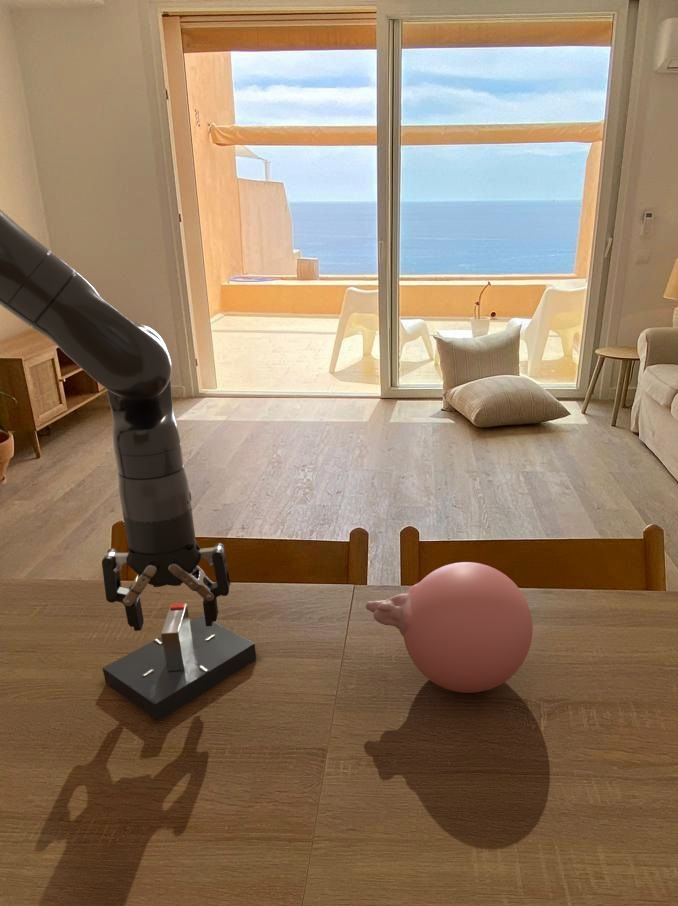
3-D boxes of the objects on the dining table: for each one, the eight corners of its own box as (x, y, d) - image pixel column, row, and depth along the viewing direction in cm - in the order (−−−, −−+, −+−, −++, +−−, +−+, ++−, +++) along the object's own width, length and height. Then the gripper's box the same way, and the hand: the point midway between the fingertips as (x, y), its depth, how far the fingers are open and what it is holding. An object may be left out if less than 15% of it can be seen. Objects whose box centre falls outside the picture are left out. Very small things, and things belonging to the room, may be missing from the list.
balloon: (382, 632, 96) (381, 532, 89) (530, 650, 91) (539, 546, 85) (352, 704, 82) (347, 592, 76) (524, 730, 78) (534, 613, 71)
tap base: (158, 721, 80) (154, 703, 79) (105, 684, 86) (101, 666, 85) (256, 659, 90) (254, 642, 89) (203, 630, 97) (201, 614, 96)
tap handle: (184, 670, 84) (177, 630, 82) (167, 671, 84) (160, 631, 82) (192, 639, 90) (186, 601, 88) (176, 640, 90) (170, 602, 88)
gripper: (82, 522, 75) (108, 647, 82) (217, 515, 76) (231, 638, 83) (100, 495, 82) (122, 612, 88) (223, 489, 83) (235, 605, 90)
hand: (175, 625), depth 86 cm, fingers open, 8 cm apart
